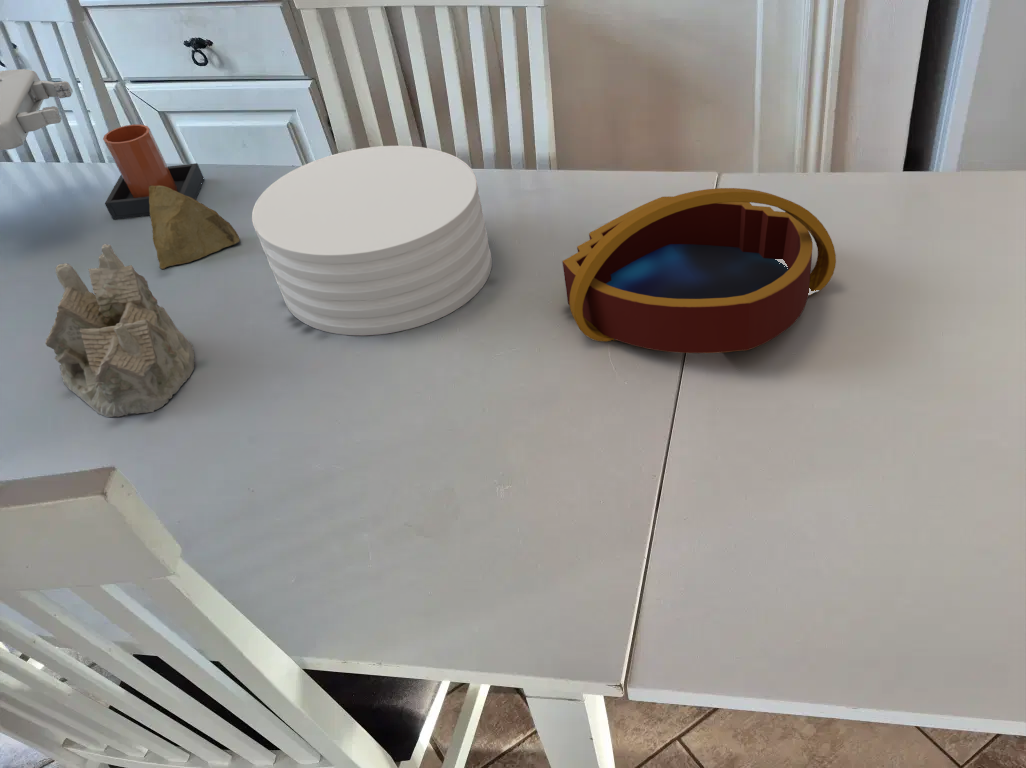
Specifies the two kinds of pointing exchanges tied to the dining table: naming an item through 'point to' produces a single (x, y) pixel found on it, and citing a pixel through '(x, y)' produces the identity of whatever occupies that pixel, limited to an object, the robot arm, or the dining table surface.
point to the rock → (185, 227)
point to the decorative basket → (698, 272)
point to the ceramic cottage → (117, 340)
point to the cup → (138, 159)
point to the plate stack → (375, 239)
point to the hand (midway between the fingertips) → (65, 101)
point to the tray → (129, 207)
